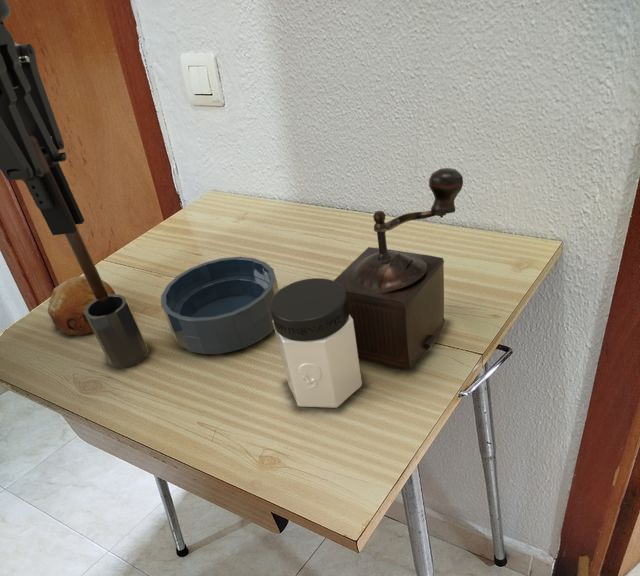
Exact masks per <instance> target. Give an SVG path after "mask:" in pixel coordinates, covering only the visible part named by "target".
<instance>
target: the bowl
mask: <svg viewBox="0 0 640 576" xmlns="http://www.w3.org/2000/svg"><path fill="white" fill-rule="evenodd" d="M279 290H280V289H279V285H278V281H277V276H276V273H275V270H274V267H272V266H270V264H268V263H267V262H266V261H263V260H261V259H258V258H254V257H246V256H232V257H221V258H217V259H213V260H210V261H205V262H202V263H200V264H198V265H195V266H193V267H190V268H188V269H186V270H185V271H182V272H181V273H180V274H179V275H176V276H175V277H174V278H173V279H172V280H171V281H170V282H169V283H168V284H167V285H166V286H165V288H164V290H163V292H162V294H161V295H160V306H161V309H162V312H163V314H164V316H165V319H166V321H167V323H168V326H169V329H170V331H171V334H172V337H173V339H174V340H175V341H176V343H177V344H178V345H179V346H180V347H181V348H184V349H186V350H188V351H189V352H191V353H198V354H203V355H214V354H227V353H232V352H236V351H239V350H242V349H245V348H247V347H251V346H252V345H253V344H255V343H258V342H260V341H261V340H263V339H264V338H265V337H267V336H268V335H269V334H271V333H272V332H273V331H275V329H274V325H273V318H272V314H271V310H270V303H271V300H272V298H273V297H274V295H275V294H276V293H277V292H278V291H279Z"/></svg>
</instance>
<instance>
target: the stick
mask: <svg viewBox="0 0 640 576" xmlns="http://www.w3.org/2000/svg"><path fill="white" fill-rule="evenodd" d="M28 136H29V138H30V140H31V143H32V145H33V147H34V150H35V152H36V154H37V157H38V159H39V161H40V164H41V166H42V168H43V171H44V173H48V172H50V174H51V176H52V178H53V180H54V182H55V184H56V186H57V189H58V191H59V193H60V195H61V197H62V199H63V201H64V203H65V206H66V208H67V210H68V212H69V214H70V216H71V218H72V220H73V223H74V225H75V227H76V229H77V230H76V232H75V233H70V234H64V236H65V238H66V240H67V242H68V245H69V246H70V248H71V250H72V252H73V254H74V257H75V259H76V261H77V263H78V265H79V267H80V269H81V271H82V273H83V276H85V277H86V279H87V281H88V283H89V285H90V288H91V290H92V292H93V294H94V296H95V298H96V299H97V300H98V301H100V302H104V301H106V300H107V299H108V293H107V290H106V288H105V286H104V284H103V282H102V280H103V279H102V277H101V275H100V273H99V271H98V269H97V266H96V264H95V262H94V260H93V258H92V256H91V254H90V252H89V250H88V248H87V245H86V243H85V241H84V238H83V237H82V234H81V232H80V230H79V228H78V226H77V224H75V221H74V219H73V217H72V215H71V213H70V211H69V209H68V206H67V204H66V202H65V200H64V198H63V196H62V193H61V191H60V189H59V187H58V185H57V183H56V181H55V178H54V176H53V174H52V172H51V170H50V168H49V165H48V163H47V161H46V159H45V157H44V155H43V153H42V150H41V148H40V146H39V144H38V142H37V140H36V138H35V137H34V136H33V135H31V134H28Z"/></svg>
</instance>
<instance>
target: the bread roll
mask: <svg viewBox="0 0 640 576" xmlns="http://www.w3.org/2000/svg"><path fill="white" fill-rule="evenodd" d="M101 280H102V282H103V284H104V286H105V288H106V290H107V293H108V295H112V294H116V292H115V290H114V289H113V287H112V286H111V285H110V284H109V283H107V281H105V280H103V279H101ZM94 300H96V298H95V296H94V294H93V292H92V290H91V288H90V285H89V283H88V281H87V279H86V277H85V275H82V276H74V277H70V278H69V279H67V280H65V281H63V282H61V283H60V284H59V285H58V286H55V287H54V288H53V290H52V294H51V295H50V297H49V300H48V307H47V313H48V315H49V317H50V318H51V321H52V322H53V324H54V325H55V327H57V329H58V330H60V331H61V332H63V333H64V334H67V335H68V336H84V335H89V334H92V333H94V332H93V330H92V328H91V326H90V324H89V322H88V321H87V319H86V317H85V312H84V310H85V309H86V307H87V306H88V304H90V303H91V302H93V301H94Z"/></svg>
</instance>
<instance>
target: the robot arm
mask: <svg viewBox="0 0 640 576" xmlns="http://www.w3.org/2000/svg"><path fill="white" fill-rule="evenodd" d="M10 16H11V7H10V5H9V2H8V1H7V0H0V171H1V173H2V174H3V176H4V178H6V180H7V181H22V182H23V183H24V184H25V186H26V188H27V190H28V192H29V194H30V195H31V197H32V200H33V201H34V204H35V206H36V207H37V209H38V210H39V211H40V213H41V215H42V217H43V219H44V222H45V223H46V226H47V227H48V229H49V230H50V233H51V235H52V236H57V235H58V236H60V235H61V236H62V235H65V234H70V233H75V232H76V230H77V229H76V227H75V225H74V223H73V220H72V218H71V216H70V214H69V212H68V210H67V208H66V206H65V203H64V201H63V199H62V197H61V195H60V193H59V191H58V189H57V186H56V184H55V182H54V180H53V178H52V176H51V174H50V172H48V173H44V171H43V168H42V166H41V164H40V161H39V159H38V157H37V154H36V152H35V150H34V147H33V145H32V143H31V140H30V138H29V136H28V134H31V135H33V136H34V137H35V138H36V140H37V142H38V144H39V146H40V148H41V150H42V153H43V155H44V157H45V159H46V161H47V163H48V165H49V168H50V170H51V172H52V174H53V176H54V178H55V181H56V183H57V185H58V187H59V189H60V191H61V193H62V196H63V198H64V200H65V202H66V204H67V206H68V209H69V211H70V213H71V215H72V217H73V219H74V221H75V224H76V225H82V224H84V223H85V219H84V216H83V214H82V212H81V210H80V207H79V205H78V203H77V201H76V199H75V196H74V194H73V192H72V190H71V188H70V184H69V182H68V180H67V178H66V176H65V173H64V171H63V169H62V166H61V164H60V162H65V161H67V153H66V151H64V152H60V150H64V149H65V143H64V140H63V137H62V135H61V134H62V133H61V131H60V128H59V125H58V123H57V119H56V118H55V113H54V111H53V109H52V106H51V102H50V100H49V98H48V94H47V92H46V89H45V86H44V84H43V80H42V77H41V75H40V71H39V67H38V61H37V58H36V52H35V48H34V46H33V45H32V44H31V43H23V44H19V43H17V42H16V41H15V40H14V37H13V35H12V33H11V32H10V31H9V29H8V28H7V26H6V25H5V23H4V21H5V20H7V19H8V18H9V17H10Z"/></svg>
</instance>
